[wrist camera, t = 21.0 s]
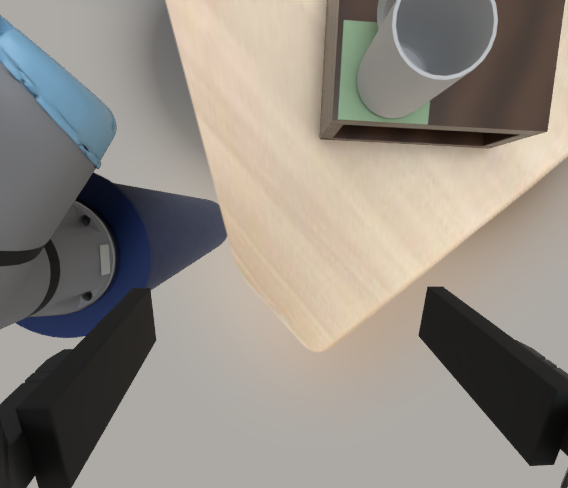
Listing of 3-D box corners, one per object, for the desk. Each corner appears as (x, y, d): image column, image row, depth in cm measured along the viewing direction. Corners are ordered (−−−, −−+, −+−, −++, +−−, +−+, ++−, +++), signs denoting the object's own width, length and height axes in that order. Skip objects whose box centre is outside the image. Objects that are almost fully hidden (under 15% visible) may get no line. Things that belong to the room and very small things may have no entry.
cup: (368, 130, 29) (409, 95, 20) (335, 27, 28) (365, -60, 19) (437, 105, 29) (509, 59, 20) (407, 0, 28) (470, -98, 19)
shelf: (319, 139, 37) (332, 118, 29) (327, 0, 35) (343, -63, 27) (489, 148, 38) (549, 131, 30) (505, 13, 36) (573, -44, 28)
